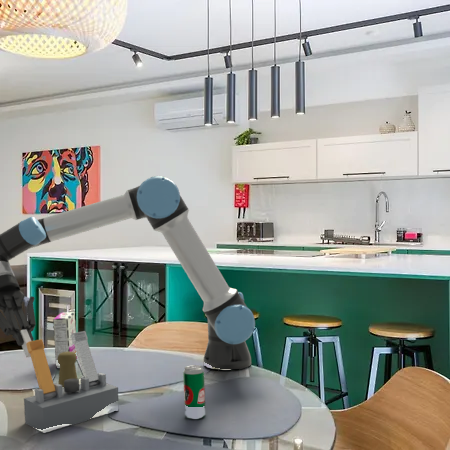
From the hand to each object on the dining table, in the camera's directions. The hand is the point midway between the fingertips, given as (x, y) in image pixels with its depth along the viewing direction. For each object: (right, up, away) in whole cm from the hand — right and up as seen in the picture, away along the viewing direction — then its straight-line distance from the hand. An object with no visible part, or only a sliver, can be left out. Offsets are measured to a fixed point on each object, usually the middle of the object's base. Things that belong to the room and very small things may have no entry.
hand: (30, 353), depth 147 cm
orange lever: (+6, -9, -6) cm, 12 cm away
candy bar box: (-4, -14, +48) cm, 51 cm away
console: (+11, -15, -2) cm, 19 cm away
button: (+11, -9, -2) cm, 14 cm away
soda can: (+41, -14, -5) cm, 44 cm away
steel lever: (+15, -8, +2) cm, 17 cm away
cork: (+4, -15, +19) cm, 25 cm away
